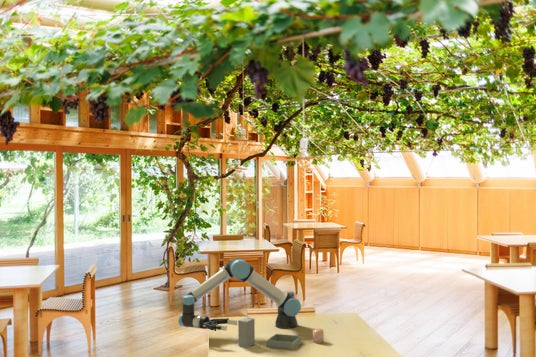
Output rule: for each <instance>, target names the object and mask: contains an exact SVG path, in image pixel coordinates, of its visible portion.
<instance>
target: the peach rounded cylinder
mask: <svg viewBox="0 0 536 357" xmlns="http://www.w3.org/2000/svg"><path fill="white" fill-rule="evenodd" d="M324 337H325V336H324V329H321V328H314V329H312V343H314V344H323V343H324Z"/></svg>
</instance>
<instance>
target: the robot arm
mask: <svg viewBox="0 0 536 357" xmlns="http://www.w3.org/2000/svg"><path fill="white" fill-rule="evenodd" d="M232 278H235V279H238V280H239V281H240V282H242V283H243V284H246V283H247V284H249V285H251V287H253V288H254V289H255V290H257V291H259V292H260V293H261V294H262V295H263V296H266V297H267V298H268V299H269V300H271V301H272V302H274V303H275V306H276V307H277V315H276V319H275V323H274V324H275V325H274V326H275V327H276V328H279V329H293V328H296V327H298V324H299V322H298V319H297V317H296V316H297V315H299V313H300V312H301V309H302V305H301V302H300V300H299V299H298V298H296V297H295V292H294V291H289V290H287V291H282V290H281V289H280V288H278V287H277V286H276V285H274V284H273V283H271V282H270V281H268V280H267V279H266V278H265V277H263V276H262V275H260V273H258V272H256V270H255V267H254V266H252V265H251V264H250V263H248V262H247V261H246V260H245V259H243V258H241V257H234V258H232V259H230V261H228V262H227V263H225V264H224V265H223V266H222V269H220V270H218V272H216V273H214V274H213V275H212V276H210V277H209V278H207V279H206V280H205V281H204V282H202V283H201V284H200V285H198V286H197V287H195V288H193V289H192V290H191V291H190V292H188V293H185V294H183V296H182V298H181V304H182V308H181V309H182V313H181V314H180V315H179V317H178V324H179V326H180V327H185V328H195V329H203V330H210V331H214V332H216V331H225V332H226V331H228V326H227V325H232V326H233V325H234V326H238V320H236V319H229V317H227V318H213V319H212V318H211V319H210V317H209V316H204V315H199V314H195V303H197V301H199V300H201V299H202V298H203V297H205V296H206V295H208V294H209V293H210V292H212V291H213V290H215V289H216V288H218V286H220V285H221V284H223V283H224V282H226V281H228V280H229V279H232ZM226 324H227V325H226Z"/></svg>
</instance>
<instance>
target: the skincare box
mask: <svg viewBox="0 0 536 357" xmlns="http://www.w3.org/2000/svg"><path fill="white" fill-rule="evenodd" d="M255 324H256V323H255V318H253V317H249V316H246V317H243V318H241V319H238V320H237V326H238V330H237V332H238V334H237V335H238V338H237V339H238V346H239V347H242V348H246V349H247V348H249V347H251V346H253V345H255V341H256V340H255V334H256V332H255Z"/></svg>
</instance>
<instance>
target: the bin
mask: <svg viewBox="0 0 536 357" xmlns="http://www.w3.org/2000/svg"><path fill="white" fill-rule="evenodd" d="M302 339H303V338H302V336H301V335H294V334H293V335H292V334H281V333H275V334H273V335H272V336H271V337H269V338H267V339H266V348H270V349H280V350H288V351H289V350H291V351H294V350H296V348H297V347H300V345H301V344H302V342H303V340H302Z"/></svg>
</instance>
